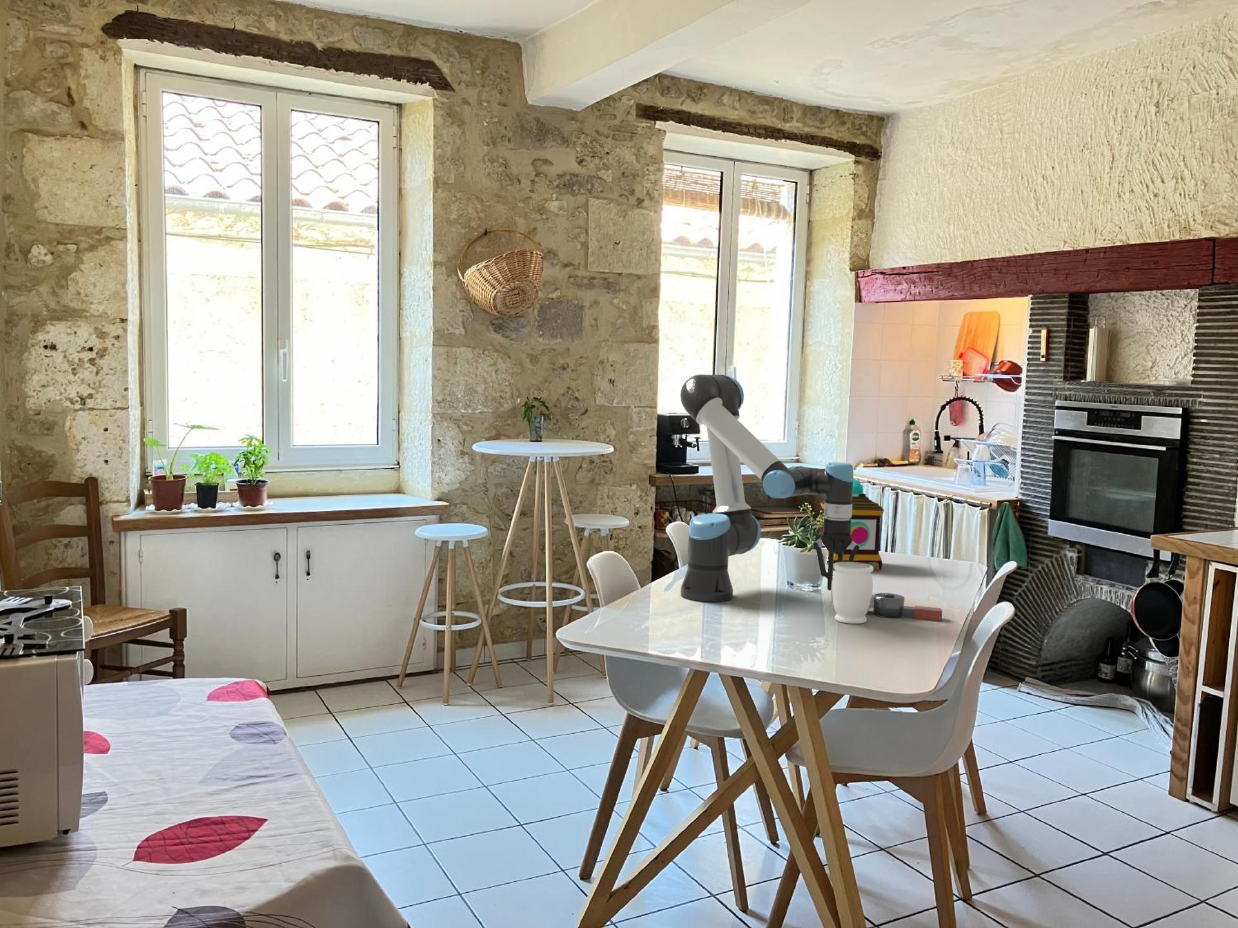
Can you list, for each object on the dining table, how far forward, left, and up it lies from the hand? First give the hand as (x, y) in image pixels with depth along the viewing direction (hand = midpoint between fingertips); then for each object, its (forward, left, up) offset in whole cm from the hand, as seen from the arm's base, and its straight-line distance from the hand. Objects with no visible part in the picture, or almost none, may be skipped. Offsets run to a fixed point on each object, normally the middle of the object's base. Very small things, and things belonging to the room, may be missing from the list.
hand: (833, 601), depth 275 cm
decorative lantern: (-1, +66, -2) cm, 66 cm away
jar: (+5, -11, -2) cm, 13 cm away
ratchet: (+18, 0, -2) cm, 18 cm away
